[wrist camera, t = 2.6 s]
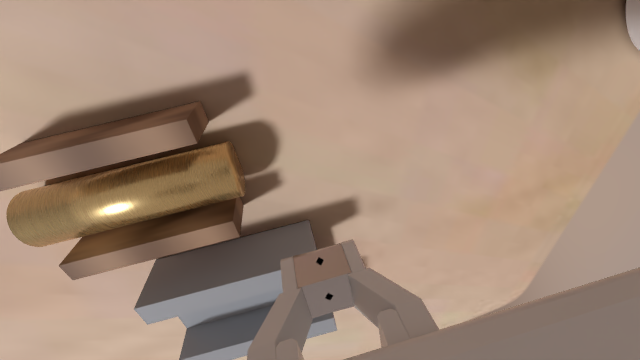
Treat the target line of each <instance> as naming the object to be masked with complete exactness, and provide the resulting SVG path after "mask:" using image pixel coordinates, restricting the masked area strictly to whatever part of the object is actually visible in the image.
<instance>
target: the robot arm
mask: <svg viewBox="0 0 640 360" xmlns="http://www.w3.org/2000/svg"><path fill="white" fill-rule="evenodd" d="M626 24H627V29H628V33H629V36H630V38H631V40H632V42H633V44H634V45H635V47H636V48H637V49H638V50H639V51H640V0H627V1H626ZM280 266H281V278H282V289H283V293H281V294H279V295H278V297H277V299H276V301H275V302H274V304H273V306H272V308H271V310H270V311H269V313H268V315H267V317H266V318H265V320H264V322H263V324H262V326H261V327H260V329H259V331H258V333H257V334H256V336H255V338H254V340H253V342H252V343H251V345H250V347H249V349H248V352H247V360H304V358H303V356H302V350H303V347H304V344H305V341H306V338H307V335H308V332H309V329H310V326H311V323H312V319H313V318H316V317H319V316H322V315H325V314H328V313H331V312H335V311H338V310H342V309H346V308H350V307H353V306H355V308H356V309H357V310H359V311H360V312H361V313H362V314H363V315H364V316H365V317H366V318H368V319H369V320H370V321H371V322H372V323H373V324H374V325H376V326H377V327H378V328H379V333H380V340H381V347H382V348H379V349H376V350H373V351H370V352H367V353H363V354H360V355H357V356H354V357H351V358H347V359H344V360H640V268H636V269H633V270H630V271H627V272H624V273H620V274H617V275H614V276H611V277H607V278H604V279H601V280H598V281H595V282H591V283H588V284H585V285H582V286H579V287H575V288H572V289H569V290H566V291H563V292H559V293H556V294H553V295H550V296H546V297H543V298H540V299H537V300H534V301H530V302H527V303H524V304H521V305H518V306H514V307H511V308H508V309H505V310H502V311H498V312H495V313H492V314H488V315H485V316H482V317H479V318H476V319H472V320H469V321H466V322H463V323H460V324H456V325H453V326H450V327H447V328H443V329H440V330H439V328H438V327H437V325H436V323H435V322H434V320H433V318H432V317H431V315H430V313H429V311H428V310H427V308H426V306H425V305H424V303H423V301H422V300H421V298H419V297H417V296H416V295H414V294H412V293H411V292H409V291H407V290H406V289H404V288H402V287H401V286H399V285H397V284H396V283H394V282H392V281H391V280H389V279H387V278H386V277H384V276H382V275H381V274H379V273H377V272H376V271H374V270H372V269H371V268H367V269H366V268H365V265H364V263H363V261H362V259H361V256H360V254H359V252H358V249H357V247H356V245H355V243H354V241H353V240H348V241H345V242H342V243H341V244H340V243H339V244H335V245H332V246H328V247H325V248H321V249H318V250H315V251H311V252H307V253H303V254H299V255H295V256H293V257H289V258H285V259H281V261H280Z"/></svg>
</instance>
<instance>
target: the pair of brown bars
mask: <svg viewBox="0 0 640 360" xmlns="http://www.w3.org/2000/svg"><path fill="white" fill-rule="evenodd" d="M208 123H209V121H208V119H207V116H206V114H205V111H204V109H203V106H202V104H201V102H200V101H199V102H194V103H190V104H186V105H182V106H177V107H173V108H169V109H165V110H160V111H156V112H152V113H148V114H143V115H139V116H135V117H131V118H127V119H122V120H118V121H114V122H110V123H105V124H101V125H97V126H93V127H88V128H84V129H80V130H76V131H71V132H67V133H63V134H59V135H54V136H50V137H46V138H42V139H37V140H33V141H29V142H25V143H21V144H19V145H17V146H15V147H13V148H11V149H9V150H7V151H5V152H3V153H2V154H0V191H3V190H7V189H12V188H16V187H20V186H24V185H28V184H32V183H36V182H40V181H45V180H49V179H53V178H57V177H61V176H65V175H69V174H74V173H78V172H82V171H86V170H90V169H94V168H98V167H102V166H107V165H111V164H115V163H119V162H123V161H127V160H131V159H135V158H140V157H144V156H148V155H152V154H156V153H160V152H164V151H168V150H173V149H177V148H181V147H185V146H189V145H193V144H197V143H198V141H199V139H200V138H201V136H202V134H203V132H204V130H205V128H206V126H207V124H208ZM242 214H243V203H242V201H241V198H240V197H237V198H233V199H229V200H225V201H221V202H217V203H213V204H209V205H205V206H202V207H198V208H194V209H190V210H186V211H182V212H178V213H174V214H170V215H166V216H162V217H158V218H154V219H150V220H146V221H142V222H138V223H134V224H130V225H126V226H122V227H119V228H115V229H111V230H107V231H103V232H99V233H95V234H91V235H87V236H83V237H82V238H81V239H80V241H79V242H78V243H77V244H76V245H75V247H74V248H73V249H72V250H71V251H70V253H69V254H68V255H67V256H66V258H65V259H64V260H63V261H62V262H61V264H60V265H59V267H60V268H61V269H62V270H63V271H64V272H65V273H66V274H67V275H68V276H69V277H70V278H71V279H72V280H75V279H79V278H83V277H87V276H91V275H95V274H99V273H102V272H106V271H110V270H114V269H118V268H122V267H126V266H130V265H133V264H137V263H141V262H145V261H149V260H153V259H157V258H160V257H164V256H168V255H172V254H176V253H180V252H184V251H187V250H191V249H195V248H199V247H203V246H207V245H211V244H214V243H218V242H222V241H226V240H230V239H234V238H238V237H240V231H241V223H242Z"/></svg>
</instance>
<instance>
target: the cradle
mask: <svg viewBox="0 0 640 360" xmlns="http://www.w3.org/2000/svg"><path fill="white" fill-rule="evenodd" d="M315 250H317V248H316V244H315V240H314V237H313V233H312V229H311V226H310V222H309V220H307V221H303V222H299V223H295V224H291V225H287V226H284V227H280V228H276V229H272V230H268V231H264V232H260V233H257V234H253V235H249V236H245V237H241V238H237V239H233V240H230V241H226V242H222V243H218V244H214V245H210V246H206V247H203V248H199V249H195V250H191V251H187V252H183V253H179V254H176V255H172V256H168V257H164V258H160V259H156V261H155V263H154V265H153V268H152V270H151V272H150V274H149V277H148V279H147V281H146V283H145V285H144V288H143V290H142V292H141V294H140V297H139V299H138V301H137V303H136V306H135V308H134V310H135V311H136V312H137V313H138V314H139V315H140V317H141V318H142V319H143V320H144V321H145V322H146V323H147V325H148V324H151V323H155V322H159V321H163V320H166V319H170V318H174V317H177V316H178V317H179V318H180V320H181V321H182V322H183V324H184V325H185V326H186V328H187V331H186V335H185V339H184V343H183V347H182V351H181V355H180V358H179V360H232V359H236V358H239V357H243V356H247V352H248V349H249V347H250V345H251V343H252V342H253V340H254V338H255V336H256V334H257V333H258V331H259V329H260V327H261V326H262V324H263V322H264V320H265V318H266V317H267V315H268V313H269V311H270V310H271V308H272V306H273V304H274V302H275V301H276V299H277V297H278V295H279V294H281V293H283V289H282V278H281V266H280V261H281V259H285V258H289V257H293V256H295V255H299V254H303V253H307V252H311V251H315ZM336 330H337V328H336V323H335V319H334V315H333V312H331V313H328V314H325V315H322V316H319V317H316V318H313V319H312V323H311V326H310V329H309V332H308V335H307V338H306V339H308V338H311V337H315V336H318V335H322V334H326V333H329V332H333V331H336Z"/></svg>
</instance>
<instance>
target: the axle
mask: <svg viewBox="0 0 640 360" xmlns="http://www.w3.org/2000/svg"><path fill="white" fill-rule="evenodd" d="M244 195H245V180H244V174H243V170H242V167H241V164H240V162H239V159H238V156H237V154H236V151H235V149H234V147H233V145H232V144H231V143H230V142H224V143H220V144H216V145H212V146H208V147H204V148H200V149H195V150H191V151H187V152H183V153H179V154H175V155H171V156H167V157H163V158H158V159H154V160H150V161H146V162H142V163H138V164H134V165H130V166H126V167H121V168H117V169H113V170H109V171H105V172H101V173H97V174H93V175H89V176H85V177H80V178H76V179H72V180H68V181H64V182H60V183H56V184H52V185H48V186H43V187H39V188H35V189H31V190H27V191H23V192H21V193H19V194H17V195H16V196H15V197H13V199H12V200H11V201H10V203H9V205H8V208H7V222H8V225H9V228H10V230H11V231H12V233H13V234H14V235H15V236H16V237H17V238H18V239H19V240H20V241H22V242H23V243H25V244H27V245H30V246H34V247H43V246H47V245H51V244H55V243H59V242H63V241H67V240H71V239H75V238H79V237H83V236H87V235H91V234H95V233H99V232H103V231H107V230H111V229H115V228H119V227H122V226H126V225H130V224H134V223H138V222H142V221H146V220H150V219H154V218H158V217H162V216H166V215H170V214H174V213H178V212H182V211H186V210H190V209H194V208H198V207H202V206H205V205H209V204H213V203H217V202H221V201H225V200H229V199H233V198H237V197H241V196H244Z"/></svg>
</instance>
